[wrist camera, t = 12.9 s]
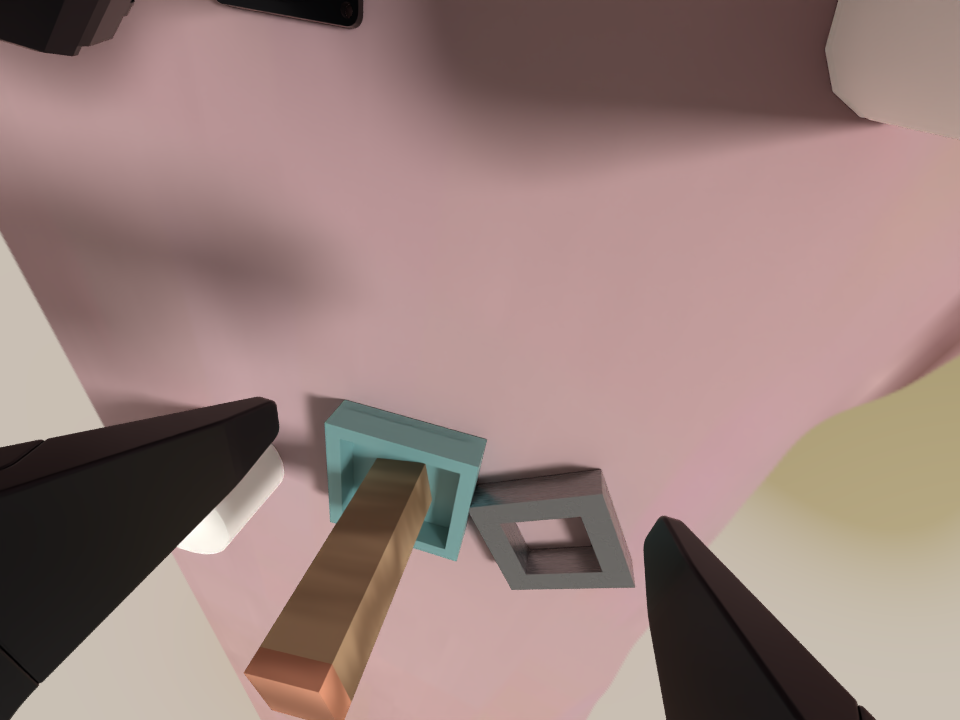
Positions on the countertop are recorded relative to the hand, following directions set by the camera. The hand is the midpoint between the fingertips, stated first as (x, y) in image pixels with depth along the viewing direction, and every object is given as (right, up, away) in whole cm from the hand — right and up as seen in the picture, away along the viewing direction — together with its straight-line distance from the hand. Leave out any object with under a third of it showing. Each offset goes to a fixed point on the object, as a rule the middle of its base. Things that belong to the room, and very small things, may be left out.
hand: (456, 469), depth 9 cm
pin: (-5, -6, +19) cm, 21 cm away
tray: (-5, -6, +20) cm, 21 cm away
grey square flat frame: (+6, -9, +19) cm, 22 cm away
